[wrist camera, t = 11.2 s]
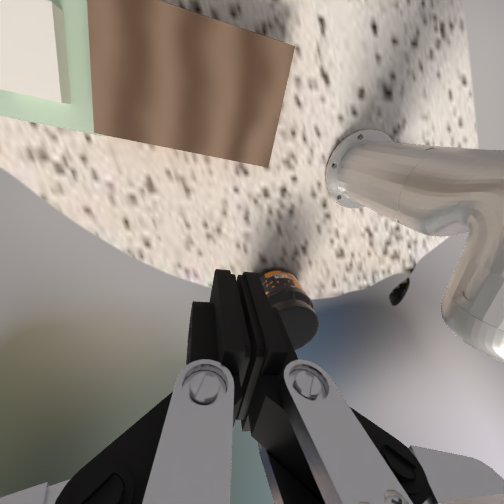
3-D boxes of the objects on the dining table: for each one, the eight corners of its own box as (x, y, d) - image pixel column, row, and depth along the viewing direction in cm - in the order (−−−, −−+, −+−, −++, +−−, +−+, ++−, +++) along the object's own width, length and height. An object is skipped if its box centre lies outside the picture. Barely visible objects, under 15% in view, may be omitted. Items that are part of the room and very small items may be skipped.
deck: (284, 54, 33) (295, 46, 30) (261, 163, 39) (268, 167, 35) (99, -6, 27) (85, -25, 24) (105, 132, 33) (94, 132, 30)
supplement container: (305, 271, 50) (333, 310, 39) (285, 312, 54) (306, 357, 43) (256, 260, 46) (273, 299, 36) (239, 304, 50) (249, 351, 40)
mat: (99, -12, 27) (98, -13, 27) (105, 136, 33) (104, 136, 33) (-39, -58, 24) (-41, -60, 24) (-4, 114, 30) (-6, 114, 30)
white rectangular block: (-23, -21, 24) (-4, -9, 26) (-2, 88, 27) (13, 91, 29) (51, 1, 25) (63, 11, 27) (61, 102, 29) (71, 104, 31)
